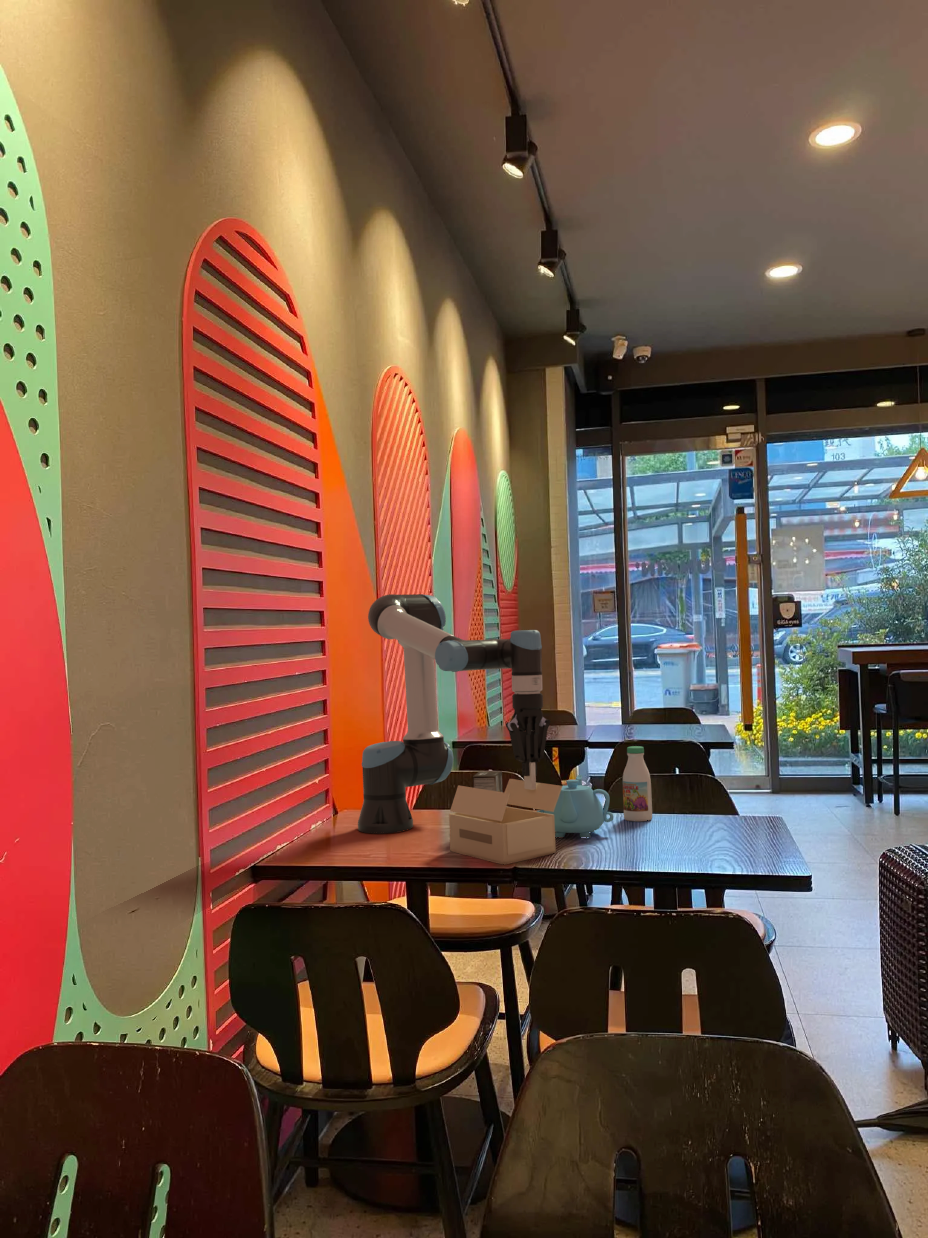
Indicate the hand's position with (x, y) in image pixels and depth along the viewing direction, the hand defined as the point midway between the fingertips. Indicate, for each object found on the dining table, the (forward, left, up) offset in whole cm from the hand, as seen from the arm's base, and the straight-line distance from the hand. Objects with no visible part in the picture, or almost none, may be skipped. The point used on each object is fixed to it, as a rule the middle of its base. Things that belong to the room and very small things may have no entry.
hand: (530, 789), depth 232 cm
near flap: (0, -18, -4) cm, 18 cm away
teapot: (-2, +16, -14) cm, 22 cm away
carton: (0, -10, -14) cm, 17 cm away
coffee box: (-18, +1, -14) cm, 23 cm away
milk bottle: (-4, +43, -14) cm, 45 cm away
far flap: (0, -2, -4) cm, 5 cm away
